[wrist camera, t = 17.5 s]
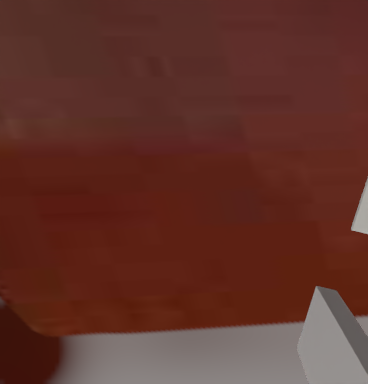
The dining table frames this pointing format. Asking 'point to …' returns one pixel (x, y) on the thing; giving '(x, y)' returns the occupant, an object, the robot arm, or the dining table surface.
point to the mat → (362, 213)
